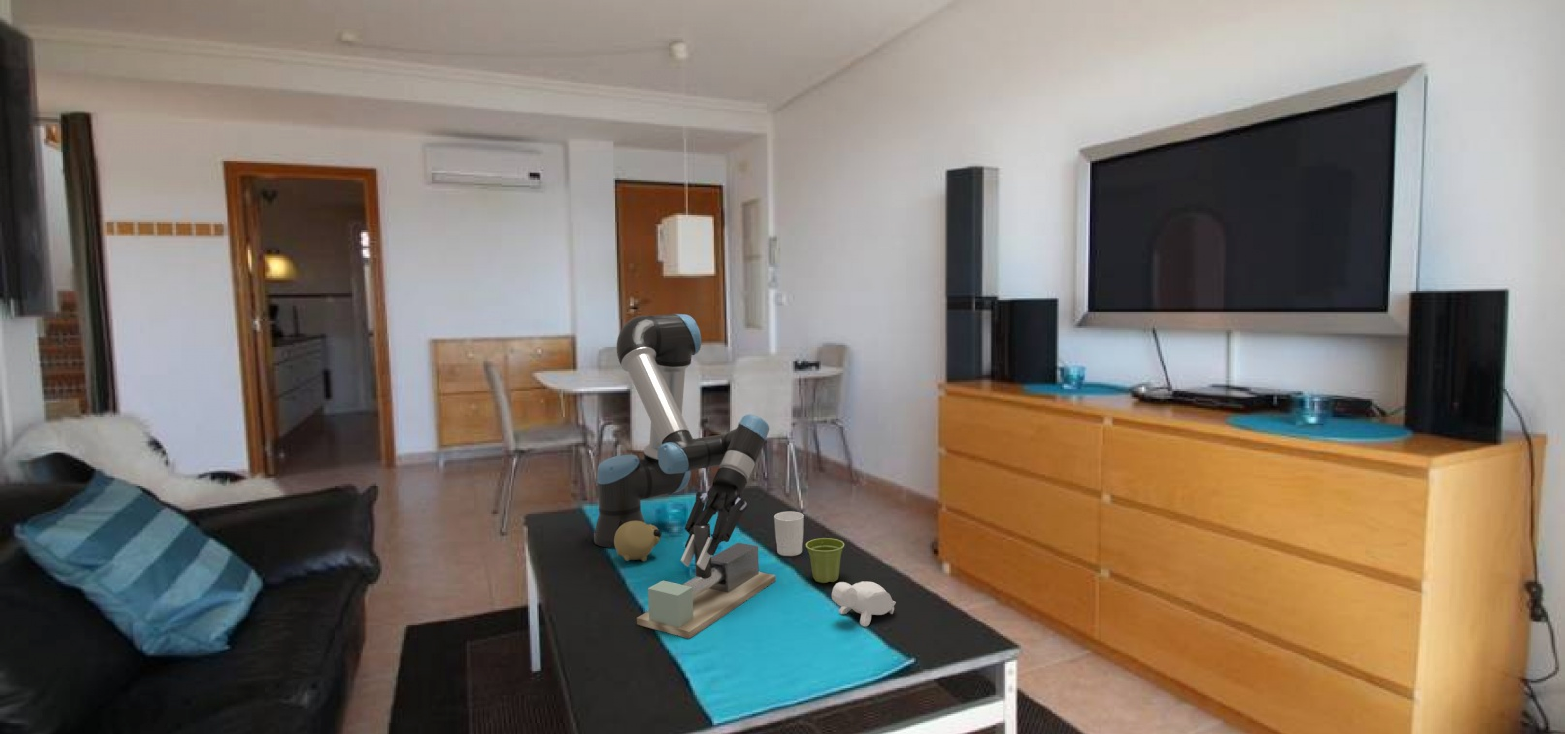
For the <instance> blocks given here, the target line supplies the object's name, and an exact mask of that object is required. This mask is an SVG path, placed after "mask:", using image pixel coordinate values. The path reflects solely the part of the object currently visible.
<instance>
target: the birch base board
mask: <svg viewBox="0 0 1565 734" xmlns="http://www.w3.org/2000/svg"><path fill="white" fill-rule="evenodd" d="M775 582H776V575H775V574H771V573H766V572H763V571H762V572H761V571H759V574H757V575H756V576H754V577H753V578H751V579H749V580H748V581H746V582H745V583H743V584H742V585H740V586H738V587H737V588H735V589H734V590H732V591H730V592H729V593H727V592H723V591H718V590H714V589H710V588H708V589H707V590H705V591H703V592H702V593H700V594H698V595H697V596H695V597H693V618H694V619H692V620H690V621H689V622H687V623H686V624H684V625H683V626H681V627H679V628H678V627H674V626H671V625H667V624H663V623H659V622H656V621H652V620H649V610H647V611H646V612H644V613H642V614H641V615H639V616H638V617H636V625H637V626H641V627H645V628H649V629H651V630H657V631H659V632H660V631H661V632H663V633H666V632H667V634H671V635H674V636H677V635H678V637H682V638H684V639H685V638H686V639H687V640H688V639H689V640H690V639H691V638H693V637H694V636H696V635H697V634H699V633H701V632H702V631H703V630H705V629H706V628H708V627H709V626H711V625H712V624H714V623H715V622H717V621H718V620H720V619H721V618H723V617H724V616H726V615H728V614H729V613H730V612H732V611H733V610H735V609H736V608H738V607H739V606H741V605H742V604H743V602H744V603H745V602H747V601H748V600H750V599H751V598H752V597H754V596H756V595H757V594H759V593H760V592H762V591H763V590H765V589H766V588H767V586H768V587H769V586H770V585H772V584H773V583H775ZM771 583H772V584H771ZM764 588H765V589H764ZM761 590H762V591H761ZM749 598H750V599H749ZM746 600H747V601H746Z"/></svg>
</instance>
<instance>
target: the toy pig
mask: <svg viewBox="0 0 1565 734" xmlns="http://www.w3.org/2000/svg"><path fill="white" fill-rule="evenodd" d="M644 522H645V521H644ZM644 522H642V521H629V522H626V523H624V524H622V525H621V526H620V527H619V528H618V529H617V531H616V533H615V537H614V545H615V551H616V555H617V556H618V557H623V559H624V561H626V562H630V560H631V561H632V560H633V561H635V560H636V561H637V560H638V561H639V560H640V561H641V562H643V563H644V562H646V561H647V558H648V556H649V554H650V553H651V552H652V550H653V548H654V547H655V546H657V545H658V543H659V542H660V540H661V537H662V532H661V531H660V529H658V527H657V526H656V525H654V524H651V523H649V524H647V523H646V522H645V523H644Z"/></svg>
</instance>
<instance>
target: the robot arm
mask: <svg viewBox="0 0 1565 734" xmlns="http://www.w3.org/2000/svg"><path fill="white" fill-rule="evenodd" d="M701 347H702V335H701V331H700V328H699V326H698V324H697V322H696V320H695V319H694V318H693V317H692V316H691V315H689V314H684V313H683V314H680V313H672V314H671V313H670V314H656V315H654V314H653V315H638V316H635V317H634V318H631V319H630V320H628V321H627V322H626V323H625V324H624V325H623V327H622V328H621V330H620V331H619V333H618V337H617V340H616V354H617V355H616V356H617V358H618V362H619V364H620V367H621V368H622V369H623V371H625V372H627V373H628V374H629V376H630V378H631V381H632V383H633V386H634V388H635V390H636V392H637V394H638V396H639V399H640V401H641V403H642V405H643V408H644V409H645V411H646V413H647V416H648V418H649V420H650V430H649V444H648V445H647V446H645V447H644V449H643V457H642V458H639V457H638V456H637V455H636V454H624V455H623V454H621V455H620V454H619V455H616V456H612V457H610V458H609V457H608V458H606V459H605V460H603V461H601V463H599V465H598V467H597V474H596V483H597V495H598V496H597V497H598V518H597V521H596V525H595V530H594V532H593V542H594V544H595V545H597V546H599V547H602V548H612V549H614V548H615V545H614V537H615V533H616V531H617V529H618V528H619V527H620V526H621V525H622V524H624V523H626V522H629V521H642V522H644V523H646V522H645V519H644V516H643V513H642V509H641V507H642V505H641V504H642V503H641V500H646V499H650V498H651V499H652V498H656V497H661V496H666V495H673V494H675V493H678V492H679V493H680V492H681V491H683V490H684V489H685V488H686V487H687V485H688V484H689V483H690V479H691V478H690V477H691V473H692V472H691V471H695V470H700V469H707V468H713V467H714V468H715V467H719V468H718V469H717V471H716V473H715V476H714V477H713V480H712V486H711V487H710V488H709V489H708V490H707V492H703V493H702V492H700V491H698V492H697V493H696V494H695V502H694V504H693V506H692V509H691V511H690V514H689V516H688V518H687V520H686V524H685V526H684V530H685V531H686V532H687V533H688V534H689V535H688V537H687V540H686V542H685V543H684V548H685V549H684V552H683V554H682V557H681V559H680V562H681V564H682V563H683V565H685V566H686V567H687V568H688V567H690V565H691V563H692V561H693V558H694V557H695V547H694V525H695V524H698V523H708V524H709V523H710V520H711V519H712V517H713V516H714V515H716V514H717V516H716V520H715V524H714V528H713V532H712V534H711V533H710V537H708V539H707V541H706V544H705V546H704V548H703V550H702V553H701V555H700V557H699V559H698V562H697V565H698V566H699V567H700V568H701V569H702V570H705V568H706V566H707V564H708V561H709V559H710V557H712V556H714V555H716V551H717V549H718V547H719V545H720V544H721V543H722V542H725V543H727V542H729V541H730V539H731V537H732V535H733V533H734V531H735V528H736V527H737V525H738V522H739V521H740V518H741V516H742V515H743V513H744V512H745V511H746V510H747V508H748V506H749V505H748V503H747V502H746V501H745V500H744V499H743V498H741V495H742V494H743V492H744V491H745V488H746V486H747V483H748V480H749V479H750V476H751V475H752V472H753V470H754V467H755V466H756V465H755V464H756V462H757V460H758V459H759V456H760V454H761V451H762V449H763V447H764V445H765V443H766V441H767V438H768V434H769V431H770V425H769V424H768V423H767V421H766V420H764V419H763V418H761V417H759V416H757V415H754V414H745V415H743V416H742V418H741V419H740V421H739V422H738V425H737V427H736V428H735V429H732V430H731V431H729V432H726V433H723V434H718V435H711V436H705V437H704V436H703V437H698V438H693V436H692V434H691V432H690V430H689V428H688V426H687V424H686V422H685V420H684V418H683V416H682V413H683V402H684V388H685V375H686V370H687V368H688V367H690V366H691V364H692V357H693V356H695V355H697V354H698V353H699V352H700V350H701ZM717 512H718V513H717Z"/></svg>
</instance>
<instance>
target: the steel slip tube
mask: <svg viewBox="0 0 1565 734" xmlns="http://www.w3.org/2000/svg"><path fill="white" fill-rule="evenodd" d="M708 537H710V538H711V524H710V523H709V522H708V523H698V524H695V525H694V547H695V554H694V566H695V567H694V568H695V569H694V570H695V577H693V578H691V579H690V580H688V581H686V582H685V583H683V584H682V585H685V586H689V587H692V591H693V597H695V596H697V595H698V594H700V593H702V592H703V591H705V590H707V589H708V588H710V587H712V586H713V585H715V584H717V583H718V582H720V581H722V580H723V579H725V578H726V568H725V566H724V565H719V564H718V565H716V566H714V567H712V568H711V557H712V556H711V557H710V559H709V561H708V564H707V566H706V568H705V570H702V569H701V568H700V567H699V566H698V565H697V562H698V559H699V557H700V555H701V553H702V550H703V548H704V546H705V544H706V541H707V539H708Z"/></svg>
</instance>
